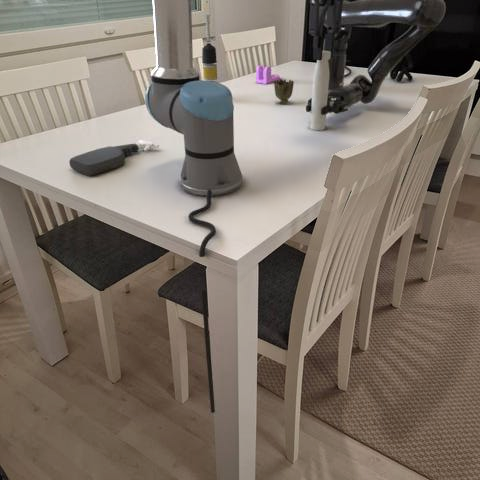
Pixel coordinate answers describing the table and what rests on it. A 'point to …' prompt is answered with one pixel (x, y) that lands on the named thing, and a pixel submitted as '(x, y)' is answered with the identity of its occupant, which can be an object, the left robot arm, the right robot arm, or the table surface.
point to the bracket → (265, 75)
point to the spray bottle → (106, 157)
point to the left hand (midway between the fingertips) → (322, 58)
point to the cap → (326, 55)
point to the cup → (283, 90)
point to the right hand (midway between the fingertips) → (314, 110)
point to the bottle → (319, 94)
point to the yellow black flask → (209, 57)
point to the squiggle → (404, 70)
